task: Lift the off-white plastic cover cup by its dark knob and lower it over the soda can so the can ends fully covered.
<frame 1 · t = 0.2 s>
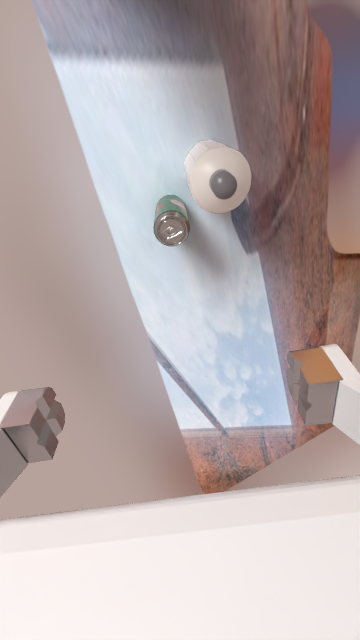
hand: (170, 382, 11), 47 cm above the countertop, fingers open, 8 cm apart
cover: (207, 167, 49), on the countertop
soda can: (170, 209, 53), on the countertop
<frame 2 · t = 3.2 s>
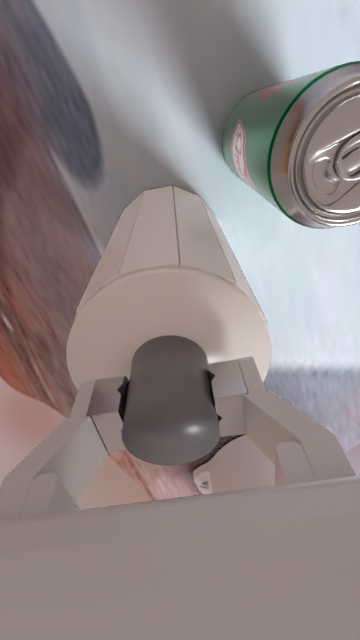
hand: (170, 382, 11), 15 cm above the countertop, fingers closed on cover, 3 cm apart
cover: (168, 240, 23), on the countertop, touching gripper
soda can: (259, 138, 20), on the countertop
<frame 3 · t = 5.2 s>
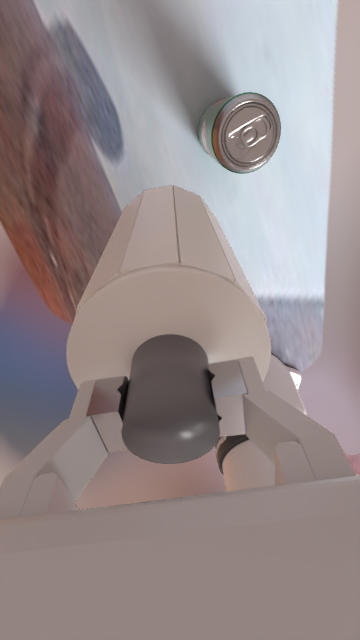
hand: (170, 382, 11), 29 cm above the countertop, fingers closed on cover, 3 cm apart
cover: (168, 239, 23), point 14 cm above the countertop, touching gripper
soda can: (222, 130, 32), on the countertop
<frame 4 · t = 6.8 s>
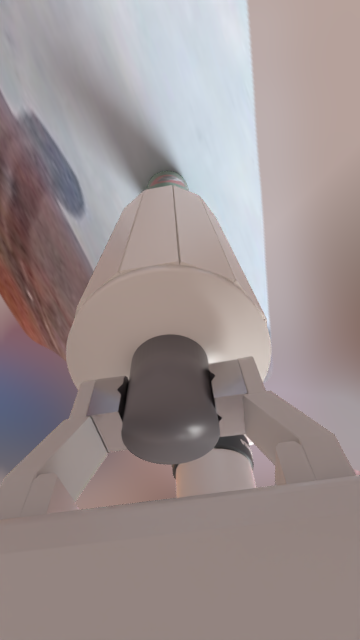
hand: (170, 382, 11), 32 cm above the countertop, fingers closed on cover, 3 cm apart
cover: (168, 239, 23), point 17 cm above the countertop, touching gripper
soda can: (167, 192, 38), on the countertop
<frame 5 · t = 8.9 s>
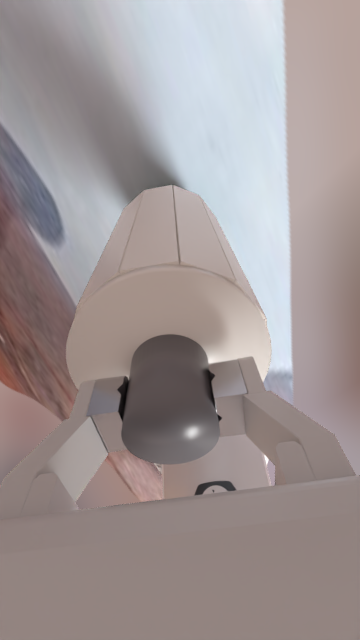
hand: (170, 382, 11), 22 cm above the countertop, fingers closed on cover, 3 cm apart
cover: (168, 239, 23), point 7 cm above the countertop, touching gripper
when the fingers open (16 cm above the countertop, at t = 10.7 s): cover drops 1 cm, on the countertop.
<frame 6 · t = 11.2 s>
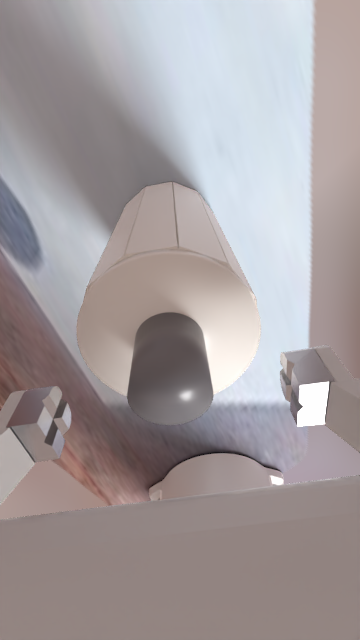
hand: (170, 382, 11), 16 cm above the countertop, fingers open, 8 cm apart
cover: (168, 233, 24), on the countertop
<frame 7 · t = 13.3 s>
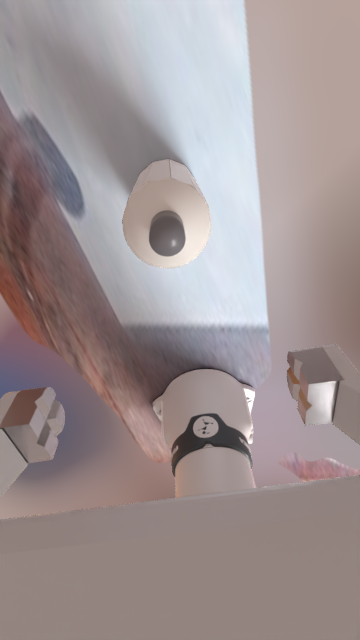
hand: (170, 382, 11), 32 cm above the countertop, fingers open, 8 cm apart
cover: (166, 193, 38), on the countertop
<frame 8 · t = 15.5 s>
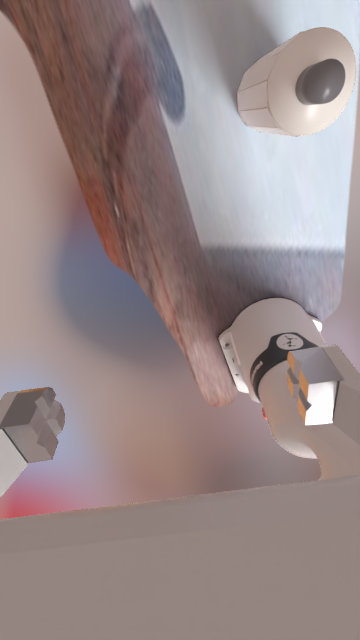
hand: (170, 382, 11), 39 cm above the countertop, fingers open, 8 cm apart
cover: (267, 96, 38), on the countertop
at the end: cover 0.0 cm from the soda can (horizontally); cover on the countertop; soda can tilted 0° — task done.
